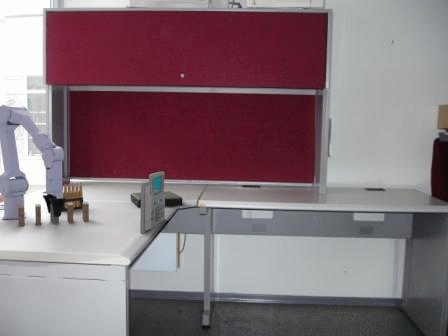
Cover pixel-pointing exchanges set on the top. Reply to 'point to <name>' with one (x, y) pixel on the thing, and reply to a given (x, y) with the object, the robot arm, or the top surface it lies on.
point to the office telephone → (152, 201)
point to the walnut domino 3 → (70, 212)
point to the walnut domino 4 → (85, 211)
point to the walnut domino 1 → (21, 215)
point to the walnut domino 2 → (38, 214)
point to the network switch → (170, 199)
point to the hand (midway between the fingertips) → (54, 214)
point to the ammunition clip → (73, 196)
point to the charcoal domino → (53, 219)
